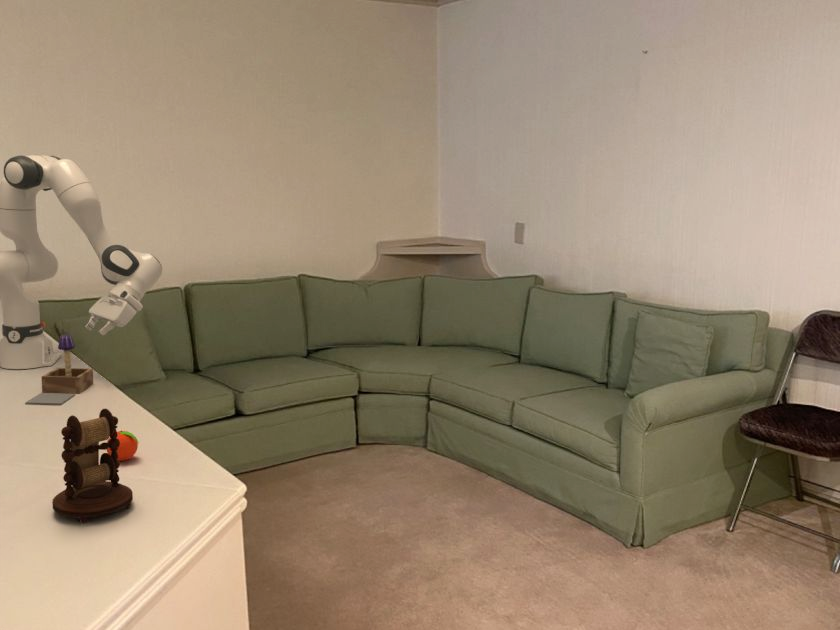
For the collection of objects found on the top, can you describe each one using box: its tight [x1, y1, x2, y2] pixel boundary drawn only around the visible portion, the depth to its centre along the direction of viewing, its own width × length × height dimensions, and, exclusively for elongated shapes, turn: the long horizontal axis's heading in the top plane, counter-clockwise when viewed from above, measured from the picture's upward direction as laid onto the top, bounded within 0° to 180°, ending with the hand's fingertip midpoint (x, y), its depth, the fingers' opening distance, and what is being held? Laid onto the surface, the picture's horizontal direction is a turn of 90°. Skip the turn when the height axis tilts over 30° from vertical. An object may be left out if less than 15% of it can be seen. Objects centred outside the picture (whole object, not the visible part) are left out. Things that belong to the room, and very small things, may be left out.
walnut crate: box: [40, 367, 94, 395], centre depth 240 cm, size 11×11×5 cm
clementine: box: [106, 430, 139, 462], centre depth 182 cm, size 8×7×7 cm
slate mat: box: [24, 392, 76, 406], centre depth 228 cm, size 10×10×1 cm
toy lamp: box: [57, 334, 76, 377], centre depth 239 cm, size 5×5×17 cm
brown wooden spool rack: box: [52, 408, 134, 524], centre depth 155 cm, size 15×15×20 cm
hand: (94, 331), depth 243 cm, fingers open, 8 cm apart
